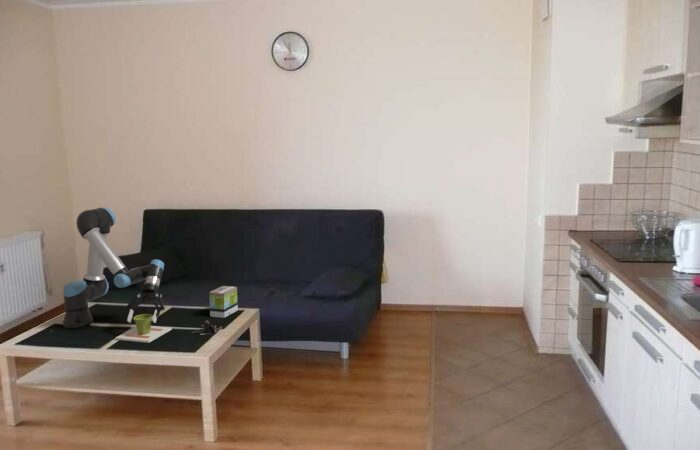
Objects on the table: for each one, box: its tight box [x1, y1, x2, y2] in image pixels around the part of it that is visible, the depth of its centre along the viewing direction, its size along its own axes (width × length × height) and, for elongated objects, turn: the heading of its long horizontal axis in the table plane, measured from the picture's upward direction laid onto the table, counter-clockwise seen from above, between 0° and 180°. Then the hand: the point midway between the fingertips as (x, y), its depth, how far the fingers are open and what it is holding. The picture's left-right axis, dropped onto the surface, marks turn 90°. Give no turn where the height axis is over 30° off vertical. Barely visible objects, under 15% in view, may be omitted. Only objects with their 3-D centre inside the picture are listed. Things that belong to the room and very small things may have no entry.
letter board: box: [114, 325, 173, 344], centre depth 298 cm, size 20×20×1 cm
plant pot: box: [132, 313, 153, 334], centre depth 298 cm, size 9×9×9 cm
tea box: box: [209, 285, 239, 319], centre depth 330 cm, size 15×10×15 cm
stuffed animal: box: [191, 320, 222, 336], centre depth 301 cm, size 12×10×12 cm
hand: (141, 321), depth 296 cm, fingers open, 13 cm apart
